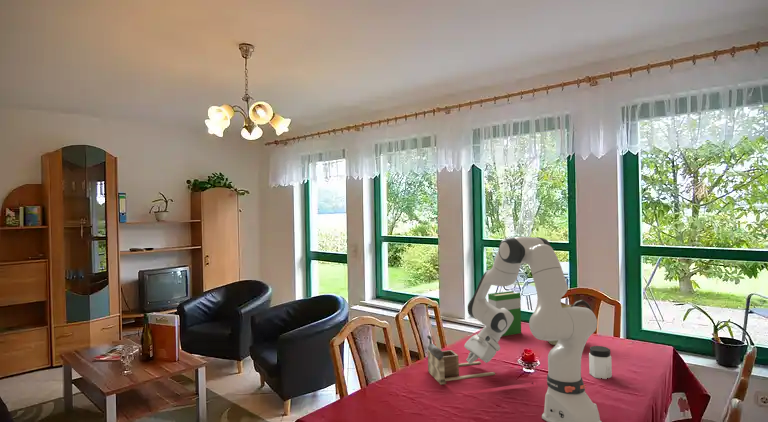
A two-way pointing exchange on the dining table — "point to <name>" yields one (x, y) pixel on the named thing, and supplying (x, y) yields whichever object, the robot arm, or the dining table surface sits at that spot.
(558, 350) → the robot arm
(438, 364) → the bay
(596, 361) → the jar
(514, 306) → the green cereal box
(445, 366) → the crate
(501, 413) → the dining table surface
